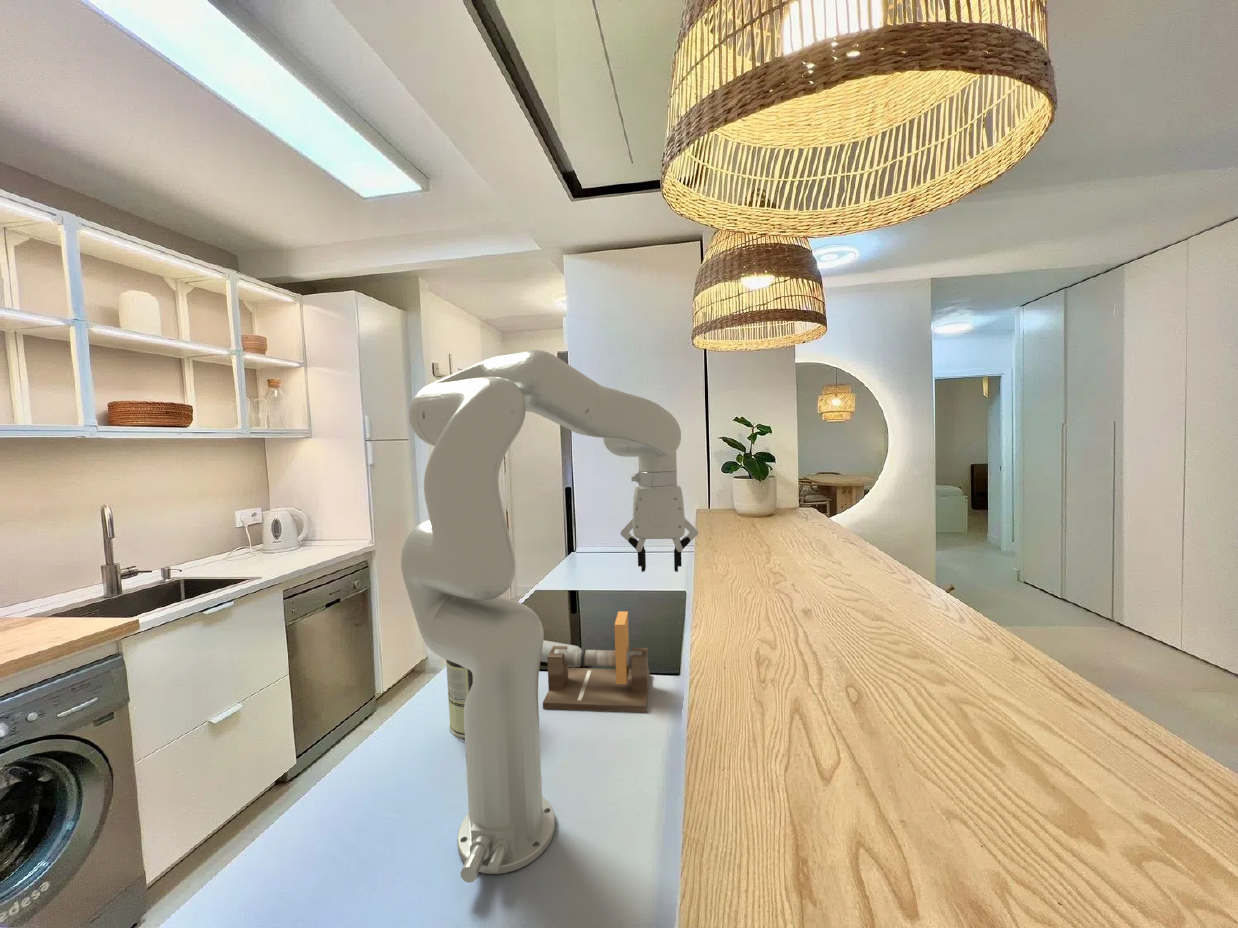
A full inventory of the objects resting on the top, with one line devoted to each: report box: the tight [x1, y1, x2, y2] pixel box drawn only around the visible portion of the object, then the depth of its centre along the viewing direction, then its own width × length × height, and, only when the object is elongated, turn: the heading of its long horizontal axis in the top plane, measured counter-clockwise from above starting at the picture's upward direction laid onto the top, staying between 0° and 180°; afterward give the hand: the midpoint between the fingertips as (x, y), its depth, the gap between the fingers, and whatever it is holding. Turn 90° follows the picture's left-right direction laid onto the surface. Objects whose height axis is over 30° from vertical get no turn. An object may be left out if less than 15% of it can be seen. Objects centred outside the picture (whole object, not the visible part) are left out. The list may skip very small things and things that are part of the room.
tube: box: [540, 639, 583, 668], centre depth 114 cm, size 5×5×25 cm
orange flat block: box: [614, 610, 630, 684], centre depth 98 cm, size 7×2×12 cm, turn 174°
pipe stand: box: [542, 646, 650, 713], centre depth 99 cm, size 14×20×9 cm
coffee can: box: [445, 659, 473, 739], centre depth 89 cm, size 10×10×14 cm
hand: (659, 569), depth 96 cm, fingers open, 5 cm apart
